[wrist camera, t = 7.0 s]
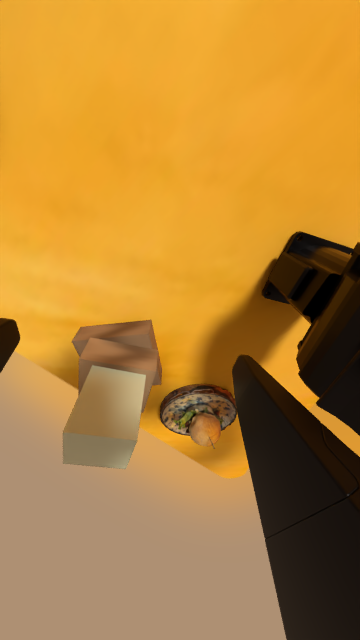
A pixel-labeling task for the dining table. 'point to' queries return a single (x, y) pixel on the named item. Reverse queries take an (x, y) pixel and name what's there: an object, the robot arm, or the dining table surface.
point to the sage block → (104, 419)
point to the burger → (198, 412)
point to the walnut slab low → (121, 338)
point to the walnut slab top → (119, 361)
